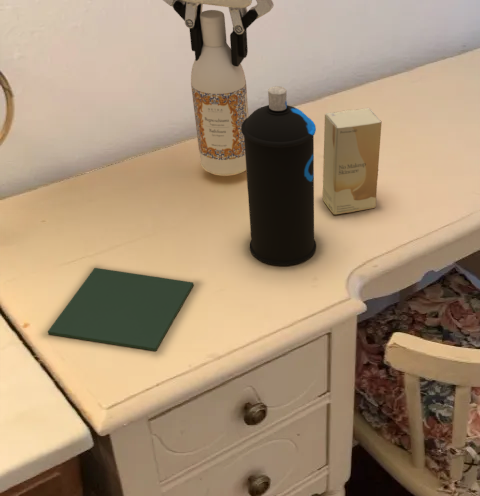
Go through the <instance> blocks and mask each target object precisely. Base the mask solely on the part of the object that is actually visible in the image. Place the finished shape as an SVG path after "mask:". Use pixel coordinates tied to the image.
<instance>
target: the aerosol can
mask: <svg viewBox="0 0 480 496" xmlns="http://www.w3.org/2000/svg"><path fill="white" fill-rule="evenodd" d="M267 95H268V97H267V99H268V104H267V105H263V106H261V107H259V108H256V109H255V110H254V111H253V112H252V113H251V114H250V115H249V117H248V118H247V119H245V121H244V122H243V123H242V126H241V131H242V133H243V135H244V142H245V156H246V170H245V171H246V183H247V184H246V185H247V198H248V201H247V202H248V212H249V213H248V215H249V228H250V241H249V246H248V247H249V251H250V253H251V255H252V256H253V257H254V258H255V259H256V260H258V261H260V262H262V263H264V264H268V265H272V266H279V267H281V266H284V267H285V266H293V265H298V264H301V263H304V262H306V261H307V260H309V259H310V258H312V256H313V255H314V254H315V253H316V251H317V242H316V239H315V180H314V179H315V160H314V159H315V156H314V155H315V152H314V151H315V150H314V149H315V147H314V143H315V141H314V139H315V138H314V136H315V134H316V131H317V125H316V124H315V122H314V121H313V120H312V119H311V118H310V117H309V116H308V115H306V113H304V112H303V111H302V110H301V109H299V108H297V107H295V106H291V105H288V102H287V97H288V96H287V89H286V88H285V87H283V86H277V85H275V86H272V87H269V88H268V90H267Z"/></svg>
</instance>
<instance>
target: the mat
mask: <svg viewBox="0 0 480 496" xmlns="http://www.w3.org/2000/svg"><path fill="white" fill-rule="evenodd" d="M194 285H195V284H194V282H192V281H187V280H186V281H185V280H180V279H172V278H165V277H160V276H154V275H145V274H139V273H134V272H133V273H132V272H126V271H119V270H112V269H106V268H101V267H100V268H99V267H94V268H93V270H92V271H91V272H90V273H89V274H88V276H87V277H86V279H85V280H84V282H83V283H82V284H81V285H80V287H79V288H78V290H77V291H76V292H75V294H74V295H73V296H72V298H71V299H70V300H69V302H68V303H67V305H66V306H65V307H64V308H63V310H62V311H61V313H60V314H59V315H58V317H57V319H56V320H55V321H54V322H53V324H52V325H51V326H50V328H49V329H48V331H47V333H48V335H52V336H57V337H58V336H59V337H64V338H70V339H77V340H84V341H90V342H95V343H101V344H108V345H114V346H115V345H116V346H121V347H127V348H133V349H134V348H135V349H138V350H139V349H141V350H146V351H152V352H157V350H158V349H159V346H160V344H161V343H162V341H163V339H164V338H165V336H166V334H167V332H168V331H169V329H170V327H171V326H172V323H174V320H175V319H176V317H177V315H178V313H179V311H180V309H181V308H182V306H183V304H184V303H185V301H186V299H187V298H188V296H189V294H190V292H191V291H192V289H193V287H194Z"/></svg>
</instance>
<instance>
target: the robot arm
mask: <svg viewBox="0 0 480 496" xmlns="http://www.w3.org/2000/svg"><path fill="white" fill-rule="evenodd" d="M162 1H163V2H165V4H167V5H168V6H170V7H172V9H173V10H174V11H175V13H177V15H178V16H179V17H180V18H181V19H182V20H183V21H184V25H185V26H186V27H187V28H188V29H189V39H190V49H191V52H194V58H195V59H196V61H197V60H198V59H199V57H200V55H201V51H202V46H203V39H202V30H201V21H200V14H201V13H202V12H203V7H204V5H207V6H215V7H225V8H228V12H229V15H230V19H231V24H232V32H231V33H230V35H229V42H230V43H229V44H230V48H231V58H232V65H233V66H237V67H238V66H239V65H240V63H241V64H242V62H243V61H244V59H246V58H247V56H248V53H249V51H248V49H249V48H248V35H247V34H248V32H247V31H248V30H247V29H248V28H249V27H250V26H251V25H252V24H253V23H254V22H255V21H257V19H259V18H261V17H263V16H265V15H266V14H268V13H269V12H271V11H272V9H273V8H274V5H275V4H274V2H273V0H255V1H256V4H255V5H254V6H252V7H250V6H251V5H252V3H253V0H162ZM248 7H250V9H248ZM195 59H194V60H195Z"/></svg>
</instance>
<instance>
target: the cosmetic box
mask: <svg viewBox="0 0 480 496" xmlns="http://www.w3.org/2000/svg"><path fill="white" fill-rule="evenodd" d="M323 127H324V128H323V129H324V131H323V133H324V134H323V166H322V200H323V202H324V203H325V205H326V207H327V208H328V209H329V211H330V212H331V213H332V214H333V215H340V214H341V215H342V214H346V213H354V212H358V211H364V210H368V209H369V210H370V209H375V208H376V207H377V206H376V205H377V193H378V192H377V190H378V178H379V163H380V149H381V135H382V121H381V119H380V118H379V117H378V115H376V114H375V112H374V111H373V110H372V109H371V108H370V107H365V108H357V109H346V110H341V111H333V112H325V113H324V126H323Z"/></svg>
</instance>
